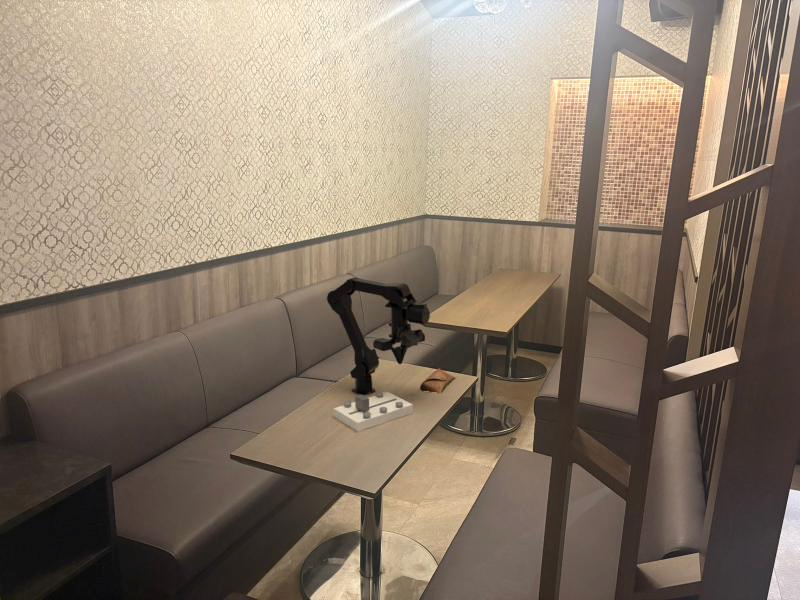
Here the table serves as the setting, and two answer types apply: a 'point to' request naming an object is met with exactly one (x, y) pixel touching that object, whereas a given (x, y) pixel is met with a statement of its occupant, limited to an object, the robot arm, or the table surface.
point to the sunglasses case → (437, 381)
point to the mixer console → (373, 411)
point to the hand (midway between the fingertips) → (399, 363)
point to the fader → (362, 403)
